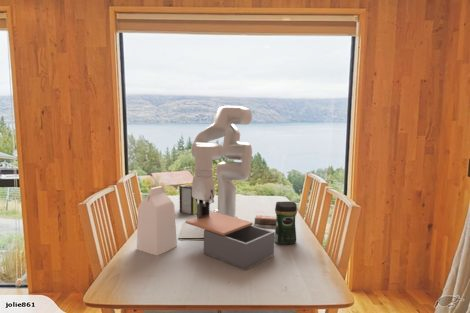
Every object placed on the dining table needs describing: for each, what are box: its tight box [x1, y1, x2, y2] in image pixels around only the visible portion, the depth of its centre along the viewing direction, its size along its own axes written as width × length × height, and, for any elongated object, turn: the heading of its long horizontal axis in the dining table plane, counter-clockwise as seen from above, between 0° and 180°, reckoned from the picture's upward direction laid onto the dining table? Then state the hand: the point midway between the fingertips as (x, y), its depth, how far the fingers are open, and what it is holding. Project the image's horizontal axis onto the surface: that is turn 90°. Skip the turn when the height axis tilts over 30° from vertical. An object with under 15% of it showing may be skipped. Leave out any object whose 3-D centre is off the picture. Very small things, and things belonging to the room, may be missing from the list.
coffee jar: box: [274, 201, 298, 245], centre depth 156 cm, size 10×8×19 cm
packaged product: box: [253, 214, 276, 230], centre depth 180 cm, size 18×5×10 cm
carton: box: [203, 225, 275, 271], centre depth 142 cm, size 22×18×10 cm
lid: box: [184, 203, 254, 236], centre depth 148 cm, size 22×18×7 cm
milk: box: [136, 185, 178, 256], centre depth 146 cm, size 12×12×26 cm
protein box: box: [179, 182, 207, 216], centre depth 203 cm, size 10×15×16 cm
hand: (203, 214), depth 154 cm, fingers closed on lid
